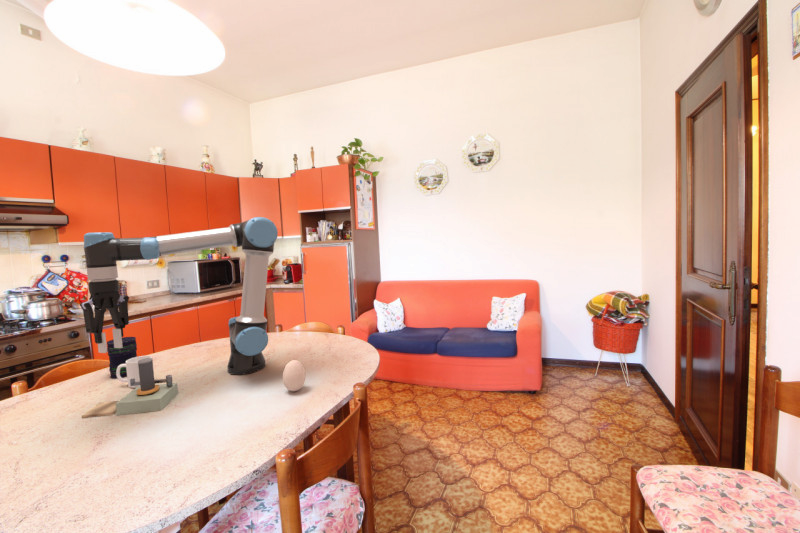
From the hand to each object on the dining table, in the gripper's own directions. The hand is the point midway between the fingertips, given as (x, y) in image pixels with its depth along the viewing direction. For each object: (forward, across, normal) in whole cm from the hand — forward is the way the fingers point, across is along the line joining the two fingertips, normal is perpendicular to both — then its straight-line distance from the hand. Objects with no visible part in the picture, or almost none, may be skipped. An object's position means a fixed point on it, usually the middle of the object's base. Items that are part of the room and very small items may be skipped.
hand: (110, 349), depth 114 cm
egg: (+21, -24, +52) cm, 61 cm away
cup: (+21, -18, -14) cm, 31 cm away
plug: (+21, -6, +7) cm, 23 cm away
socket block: (+21, -6, +7) cm, 23 cm away
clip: (+16, -8, +6) cm, 19 cm away
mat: (+21, +1, -4) cm, 21 cm away
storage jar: (+21, -25, -30) cm, 45 cm away
